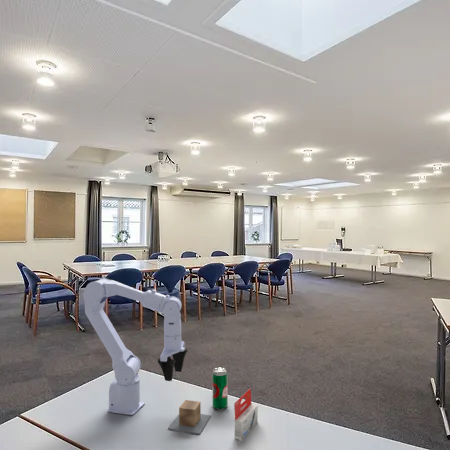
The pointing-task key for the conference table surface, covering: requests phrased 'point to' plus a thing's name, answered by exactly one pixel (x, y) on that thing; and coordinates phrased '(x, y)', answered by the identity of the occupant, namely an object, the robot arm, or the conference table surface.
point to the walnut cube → (189, 413)
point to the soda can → (219, 388)
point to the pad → (187, 429)
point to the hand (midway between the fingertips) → (173, 375)
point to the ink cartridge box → (244, 416)
